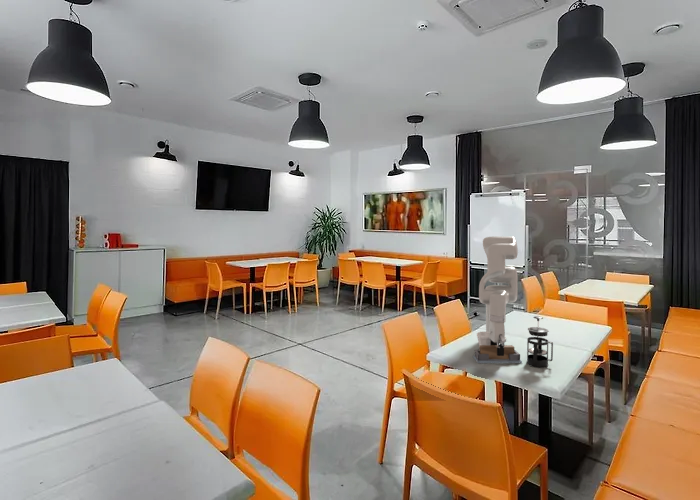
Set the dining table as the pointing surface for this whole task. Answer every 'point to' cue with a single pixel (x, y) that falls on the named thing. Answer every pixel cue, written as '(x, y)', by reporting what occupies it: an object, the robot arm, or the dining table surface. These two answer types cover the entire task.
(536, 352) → the french press
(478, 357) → the cradle
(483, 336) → the cup
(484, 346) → the slat
